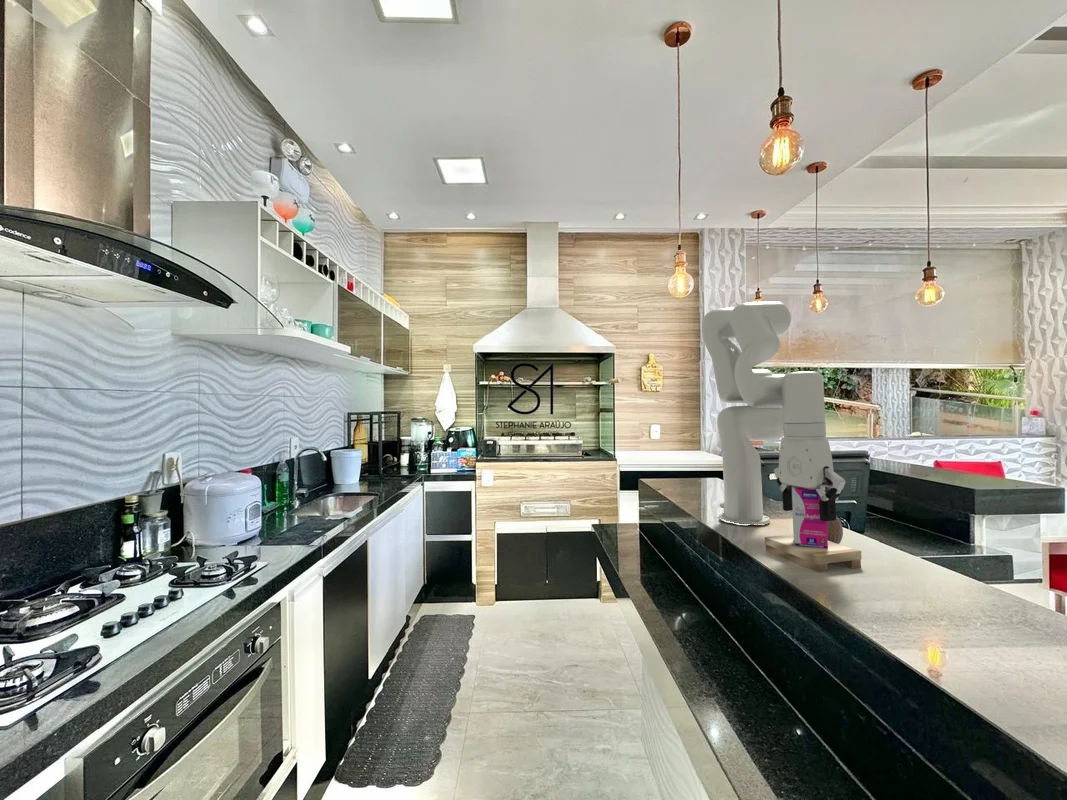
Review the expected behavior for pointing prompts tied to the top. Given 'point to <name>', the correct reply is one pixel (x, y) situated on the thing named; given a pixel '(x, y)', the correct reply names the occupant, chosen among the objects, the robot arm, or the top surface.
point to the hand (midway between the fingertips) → (808, 515)
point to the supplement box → (808, 519)
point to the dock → (813, 553)
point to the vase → (834, 531)
